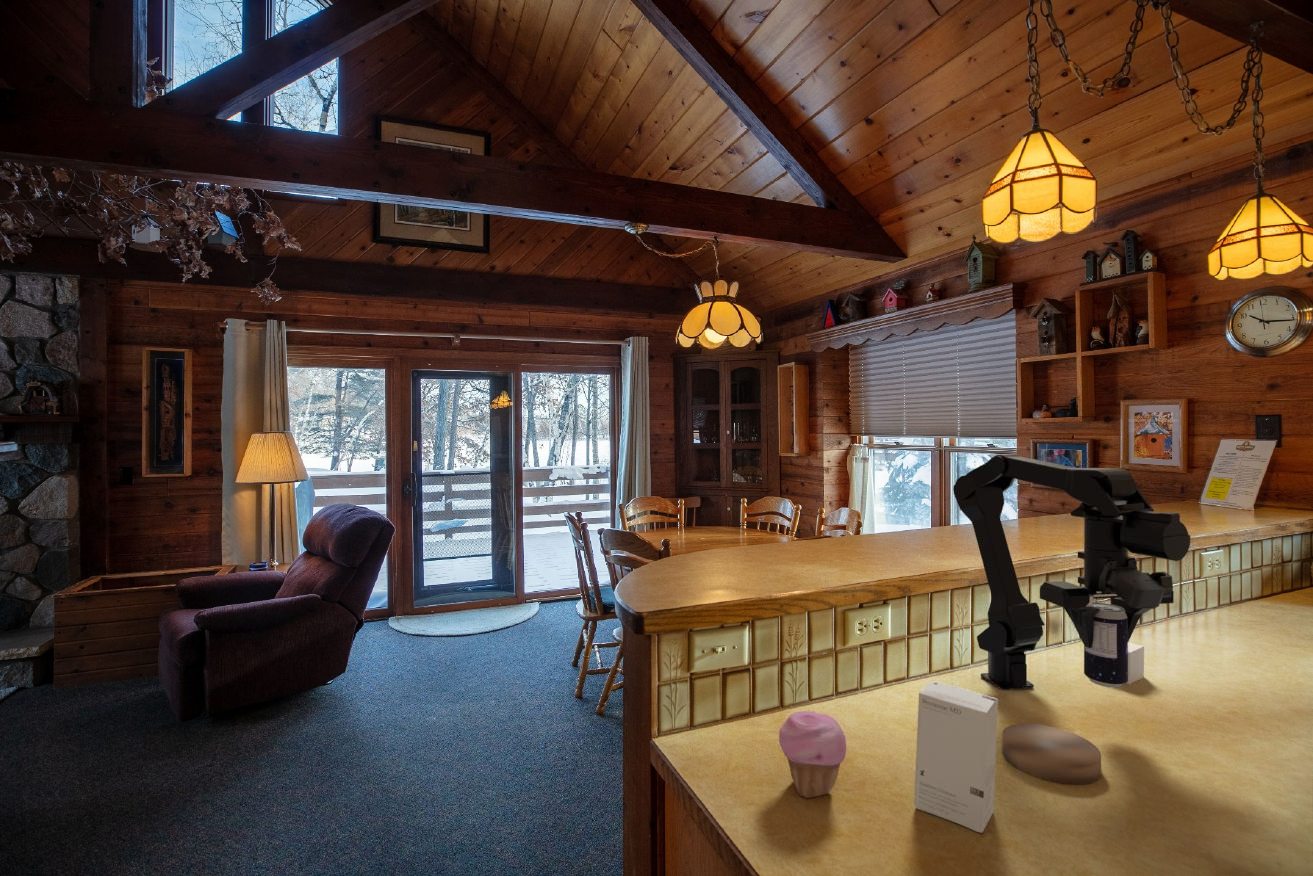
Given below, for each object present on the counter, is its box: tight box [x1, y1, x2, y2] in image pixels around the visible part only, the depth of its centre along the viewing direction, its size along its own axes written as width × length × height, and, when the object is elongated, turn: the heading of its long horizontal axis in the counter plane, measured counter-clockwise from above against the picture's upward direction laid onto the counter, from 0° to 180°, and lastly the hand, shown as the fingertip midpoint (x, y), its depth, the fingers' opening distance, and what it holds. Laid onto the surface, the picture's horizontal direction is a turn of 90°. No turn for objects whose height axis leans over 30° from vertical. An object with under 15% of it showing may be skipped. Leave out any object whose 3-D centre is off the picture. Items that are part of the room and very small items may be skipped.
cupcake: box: [778, 710, 847, 799], centre depth 84 cm, size 9×9×10 cm
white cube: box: [1125, 641, 1145, 685], centre depth 120 cm, size 6×6×6 cm
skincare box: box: [913, 680, 999, 834], centre depth 79 cm, size 8×6×15 cm
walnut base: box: [1001, 723, 1102, 786], centre depth 90 cm, size 12×12×2 cm
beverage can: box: [1083, 602, 1128, 689], centre depth 100 cm, size 6×6×12 cm
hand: (1105, 646), depth 100 cm, fingers closed on beverage can, 6 cm apart
